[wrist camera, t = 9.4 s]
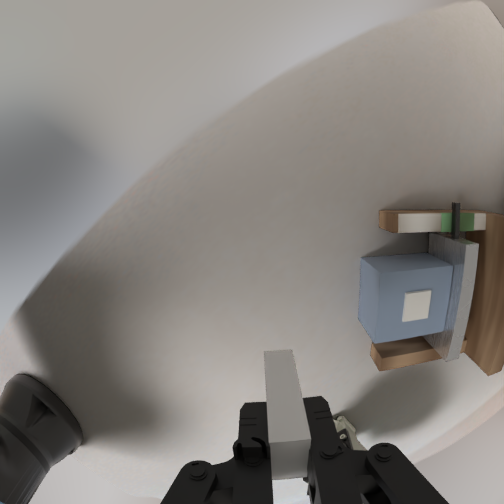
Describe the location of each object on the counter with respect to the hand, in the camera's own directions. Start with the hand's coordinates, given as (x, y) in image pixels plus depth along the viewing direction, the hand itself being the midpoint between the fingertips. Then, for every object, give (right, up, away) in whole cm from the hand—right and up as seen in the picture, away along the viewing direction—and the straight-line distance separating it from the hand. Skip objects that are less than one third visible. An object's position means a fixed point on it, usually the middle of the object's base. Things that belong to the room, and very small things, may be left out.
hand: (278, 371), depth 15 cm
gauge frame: (+16, +3, +10) cm, 19 cm away
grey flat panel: (+16, +5, +9) cm, 19 cm away
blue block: (+12, +3, +10) cm, 16 cm away
